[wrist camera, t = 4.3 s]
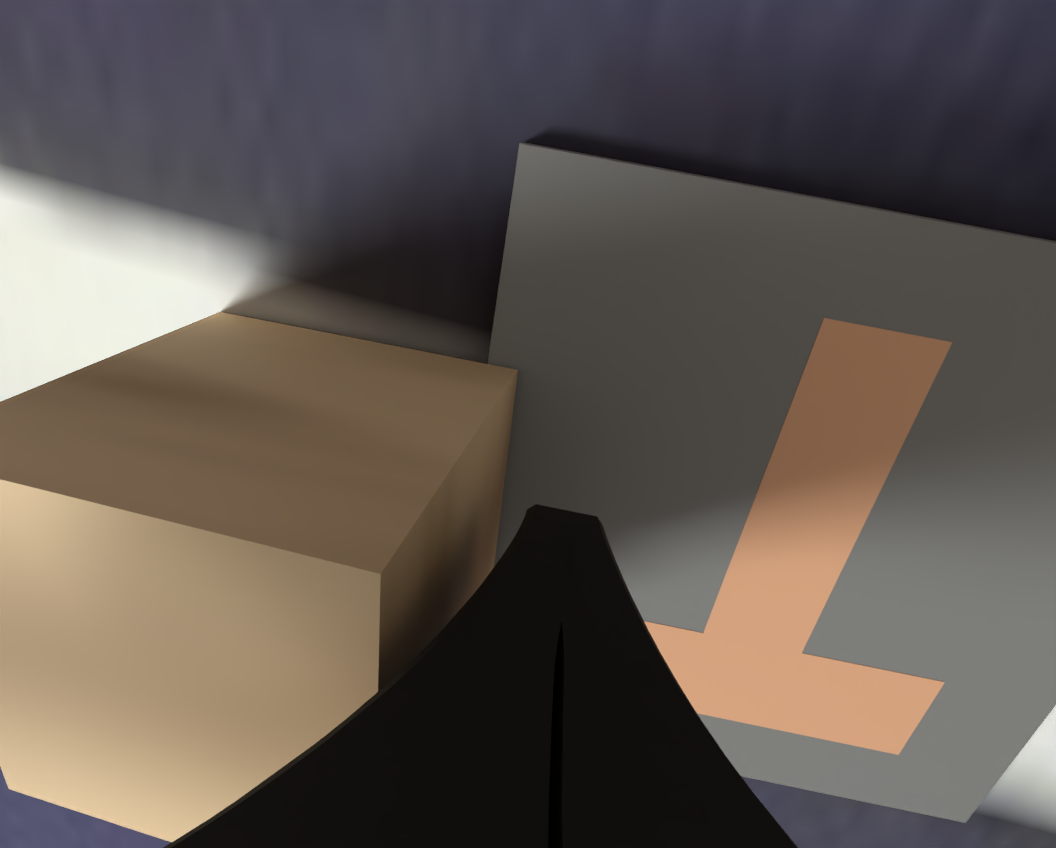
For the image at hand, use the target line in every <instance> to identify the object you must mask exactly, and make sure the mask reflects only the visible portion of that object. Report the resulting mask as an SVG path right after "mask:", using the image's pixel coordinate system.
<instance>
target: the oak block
mask: <svg viewBox="0 0 1056 848" xmlns="http://www.w3.org/2000/svg"><path fill="white" fill-rule="evenodd" d="M517 374H518V370H516V369H511V368H505V367H500V366H495V365H490V364H485V363H480V362H475V361H470V360H464V359H459V358H454V357H449V356H444V355H439V354H434V353H429V352H423V351H418V350H413V349H408V348H403V347H398V346H393V345H388V344H382V343H377V342H372V341H367V340H362V339H357V338H352V337H347V336H341V335H336V334H331V333H326V332H321V331H316V330H311V329H306V328H300V327H295V326H290V325H285V324H280V323H275V322H270V321H265V320H259V319H254V318H249V317H244V316H239V315H234V314H229V313H224V312H219V313H216V314H214V315H211V316H209V317H207V318H204V319H202V320H199V321H197V322H194V323H192V324H189V325H187V326H185V327H182V328H180V329H177V330H175V331H172V332H170V333H168V334H165V335H163V336H160V337H158V338H155V339H153V340H150V341H148V342H146V343H143V344H141V345H138V346H136V347H133V348H131V349H128V350H126V351H124V352H121V353H119V354H116V355H114V356H111V357H109V358H106V359H104V360H102V361H99V362H97V363H94V364H92V365H89V366H87V367H84V368H82V369H80V370H77V371H75V372H72V373H70V374H67V375H65V376H63V377H60V378H58V379H55V380H53V381H50V382H48V383H45V384H43V385H41V386H38V387H36V388H33V389H31V390H28V391H26V392H23V393H21V394H19V395H16V396H14V397H11V398H9V399H6V400H4V401H1V402H0V767H1V769H2V772H3V775H4V777H5V780H6V783H7V785H8V788H9V789H11V790H14V791H17V792H20V793H23V794H26V795H29V796H32V797H35V798H38V799H41V800H44V801H47V802H50V803H53V804H56V805H59V806H63V807H66V808H69V809H72V810H75V811H78V812H81V813H84V814H87V815H90V816H93V817H96V818H99V819H102V820H105V821H108V822H111V823H114V824H117V825H121V826H124V827H127V828H130V829H133V830H136V831H139V832H142V833H145V834H148V835H151V836H154V837H157V838H160V839H163V840H166V841H169V842H173V841H175V840H177V839H178V838H180V837H181V836H183V835H184V834H186V833H188V832H189V831H191V830H192V829H194V828H196V827H197V826H199V825H200V824H202V823H204V822H205V821H207V820H208V819H210V818H211V817H213V816H214V815H216V814H217V813H219V812H220V811H222V810H223V809H225V808H226V807H228V806H229V805H231V804H232V803H234V802H235V801H237V800H238V799H239V798H241V797H242V796H244V795H245V794H246V793H248V792H249V791H250V790H252V789H253V788H255V787H256V786H257V785H259V784H260V783H261V782H263V781H264V780H266V779H267V778H268V777H270V776H271V775H272V774H274V773H275V772H277V771H278V770H279V769H281V768H282V767H284V766H285V765H286V764H288V763H289V762H290V761H292V760H293V759H295V758H296V757H297V756H299V755H300V754H301V753H303V752H304V751H306V750H307V749H308V748H310V747H311V746H312V745H314V744H315V743H316V742H318V741H319V740H320V739H322V738H323V737H324V736H325V735H327V734H328V733H329V732H331V731H332V730H333V729H334V728H335V727H337V726H338V725H339V724H340V723H342V722H343V721H344V720H345V719H347V718H348V717H349V716H350V715H351V714H353V713H354V712H355V711H356V710H357V709H358V708H360V707H361V706H362V705H363V704H364V703H365V702H367V701H368V700H369V699H370V698H371V697H372V696H374V695H375V694H376V693H377V692H378V691H379V690H380V689H382V688H383V687H384V686H385V685H386V684H387V683H389V682H390V681H391V680H392V679H393V678H394V677H395V676H396V675H397V674H398V673H399V672H400V671H401V670H403V669H404V668H405V667H406V666H407V665H408V664H409V663H410V662H411V661H412V660H413V659H414V658H415V657H416V656H417V655H418V654H419V653H420V652H421V651H422V650H423V649H424V648H425V647H426V646H427V645H428V644H429V643H430V642H431V641H432V640H433V639H434V638H435V637H436V636H437V635H438V634H439V633H440V632H441V631H442V630H443V628H444V627H445V626H446V625H447V624H448V623H449V622H450V620H451V619H452V618H453V617H454V616H455V615H456V614H457V612H458V611H459V610H460V609H461V608H462V607H463V606H464V604H465V603H466V602H467V601H468V600H469V599H470V598H471V596H472V595H473V594H474V593H475V592H476V590H477V589H478V588H479V587H480V585H481V584H482V583H483V581H484V580H485V579H486V577H487V576H488V575H489V573H490V572H491V571H492V569H493V568H494V564H495V556H496V547H497V539H498V531H499V523H500V514H501V506H502V498H503V489H504V481H505V473H506V465H507V456H508V448H509V440H510V432H511V423H512V415H513V407H514V399H515V390H516V382H517Z"/></svg>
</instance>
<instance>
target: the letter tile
mask: <svg viewBox="0 0 1056 848" xmlns="http://www.w3.org/2000/svg"><path fill="white" fill-rule="evenodd" d="M487 364H490V365H495V366H500V367H505V368H511V369H516V370H518V374H517V382H516V390H515V399H514V407H513V415H512V423H511V432H510V440H509V448H508V456H507V465H506V473H505V481H504V489H503V498H502V506H501V514H500V523H499V531H498V539H497V547H496V556H495V564H494V566H495V565H496V564H497V562H498V561H499V560H500V558H501V557H502V556H503V554H504V553H505V551H506V549H507V548H508V546H509V545H510V543H511V542H512V540H513V538H514V537H515V535H516V533H517V531H518V530H519V528H520V526H521V524H522V521H523V519H524V517H525V514H526V511H527V509H528V508H530V507H532V506H534V505H535V504H538V505H543V506H548V507H553V508H558V509H563V510H568V511H573V512H578V513H583V514H588V515H592V516H597V517H598V518H599V520H600V521H601V523H602V524H603V527H604V530H605V533H606V536H607V539H608V542H609V545H610V547H611V550H612V552H613V555H614V557H615V560H616V562H617V565H618V567H619V569H620V572H621V574H622V576H623V579H624V581H625V583H626V585H627V587H628V590H629V592H630V594H631V596H632V598H633V600H634V602H635V604H636V606H637V608H638V610H639V612H640V614H641V616H642V618H643V620H644V622H645V624H646V626H647V628H648V630H649V632H650V634H651V636H652V638H653V640H654V642H655V643H656V645H657V647H658V649H659V651H660V653H661V654H662V656H663V658H664V660H665V661H666V663H667V665H668V666H669V668H670V670H671V672H672V673H673V675H674V677H675V679H676V680H677V682H678V684H679V685H680V687H681V689H682V690H683V692H684V693H685V695H686V697H687V698H688V700H689V702H690V703H691V705H692V706H693V708H694V709H695V711H696V713H697V714H698V716H699V717H700V719H701V720H702V722H703V723H704V725H705V726H706V728H707V729H708V731H709V732H710V733H711V735H712V736H713V738H714V739H715V741H716V742H717V744H718V745H719V747H720V748H721V749H722V751H723V752H724V754H725V755H726V757H727V758H728V759H729V761H730V762H731V763H732V765H733V766H734V768H735V769H736V770H737V772H738V773H739V774H740V776H743V777H748V778H753V779H758V780H762V781H767V782H772V783H777V784H782V785H786V786H791V787H796V788H801V789H806V790H810V791H815V792H820V793H825V794H830V795H834V796H839V797H844V798H849V799H854V800H858V801H863V802H868V803H873V804H877V805H882V806H887V807H892V808H897V809H901V810H906V811H911V812H916V813H921V814H925V815H930V816H935V817H940V818H945V819H949V820H954V821H959V822H964V823H966V821H967V820H968V819H969V818H970V816H971V815H972V814H973V812H974V811H975V810H976V808H977V807H978V806H979V804H980V803H981V802H982V801H983V799H984V798H985V797H986V795H987V794H988V793H989V791H990V790H991V789H992V787H993V786H994V785H995V784H996V782H997V781H998V780H999V778H1000V777H1001V776H1002V774H1003V773H1004V772H1005V770H1006V769H1007V768H1008V766H1009V765H1010V764H1011V763H1012V761H1013V760H1014V759H1015V757H1016V756H1017V755H1018V753H1019V752H1020V751H1021V749H1022V748H1023V747H1024V746H1025V744H1026V743H1027V742H1028V740H1029V739H1030V738H1031V736H1032V735H1033V734H1034V732H1035V731H1036V730H1037V729H1038V727H1039V726H1040V725H1041V723H1042V722H1043V721H1044V719H1045V718H1046V717H1047V715H1048V714H1049V713H1050V712H1051V710H1052V709H1053V708H1054V706H1055V705H1056V241H1053V240H1047V239H1042V238H1036V237H1031V236H1026V235H1020V234H1015V233H1010V232H1004V231H999V230H993V229H988V228H983V227H977V226H972V225H966V224H961V223H956V222H950V221H945V220H940V219H934V218H929V217H923V216H918V215H913V214H907V213H902V212H897V211H891V210H886V209H880V208H875V207H870V206H864V205H859V204H853V203H848V202H843V201H837V200H832V199H827V198H821V197H816V196H810V195H805V194H800V193H794V192H789V191H784V190H778V189H773V188H767V187H762V186H757V185H751V184H746V183H740V182H735V181H730V180H724V179H719V178H714V177H708V176H703V175H697V174H692V173H687V172H681V171H676V170H671V169H665V168H660V167H654V166H649V165H644V164H638V163H633V162H627V161H622V160H617V159H611V158H606V157H601V156H595V155H590V154H584V153H579V152H574V151H568V150H563V149H558V148H552V147H547V146H541V145H536V144H531V143H525V142H522V143H519V150H518V157H517V164H516V171H515V178H514V185H513V191H512V198H511V205H510V212H509V219H508V226H507V233H506V239H505V246H504V253H503V260H502V267H501V274H500V281H499V288H498V294H497V301H496V308H495V315H494V322H493V329H492V336H491V343H490V349H489V356H488V363H487Z"/></svg>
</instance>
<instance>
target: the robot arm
mask: <svg viewBox="0 0 1056 848" xmlns="http://www.w3.org/2000/svg"><path fill="white" fill-rule="evenodd" d="M164 848H798V847H797V846H796V845H795V844H794V842H793V841H792V840H791V839H790V837H789V836H788V835H787V834H786V833H785V831H784V830H783V829H782V828H781V826H780V825H779V824H778V823H777V821H776V820H775V819H774V818H773V817H772V815H771V814H770V813H769V812H768V810H767V809H766V808H765V807H764V805H763V804H762V803H761V802H760V801H759V799H758V798H757V797H756V796H755V794H754V793H753V792H752V791H751V789H750V788H749V787H748V785H747V784H746V783H745V781H744V780H743V778H742V777H741V776H740V774H739V773H738V772H737V770H736V769H735V768H734V766H733V765H732V763H731V762H730V761H729V759H728V758H727V757H726V755H725V754H724V752H723V751H722V749H721V748H720V747H719V745H718V744H717V742H716V741H715V739H714V738H713V736H712V735H711V733H710V732H709V731H708V729H707V728H706V726H705V725H704V723H703V722H702V720H701V719H700V717H699V716H698V714H697V713H696V711H695V709H694V708H693V706H692V705H691V703H690V702H689V700H688V698H687V697H686V695H685V693H684V692H683V690H682V689H681V687H680V685H679V684H678V682H677V680H676V679H675V677H674V675H673V673H672V672H671V670H670V668H669V666H668V665H667V663H666V661H665V660H664V658H663V656H662V654H661V653H660V651H659V649H658V647H657V645H656V643H655V642H654V640H653V638H652V636H651V634H650V632H649V630H648V628H647V626H646V624H645V622H644V620H643V618H642V616H641V614H640V612H639V610H638V608H637V606H636V604H635V602H634V600H633V598H632V596H631V594H630V592H629V590H628V587H627V585H626V583H625V581H624V579H623V576H622V574H621V572H620V569H619V567H618V565H617V562H616V560H615V557H614V555H613V552H612V550H611V547H610V545H609V542H608V539H607V536H606V533H605V530H604V527H603V524H602V523H601V521H600V520H599V518H598V517H597V516H592V515H588V514H583V513H578V512H573V511H568V510H563V509H558V508H553V507H548V506H543V505H538V504H535V505H534V506H532V507H530V508H528V509H527V511H526V514H525V517H524V519H523V521H522V524H521V526H520V528H519V530H518V531H517V533H516V535H515V537H514V538H513V540H512V542H511V543H510V545H509V546H508V548H507V549H506V551H505V553H504V554H503V556H502V557H501V558H500V560H499V561H498V562H497V564H496V565H495V566H494V568H493V569H492V571H491V572H490V573H489V575H488V576H487V577H486V579H485V580H484V581H483V583H482V584H481V585H480V587H479V588H478V589H477V590H476V592H475V593H474V594H473V595H472V596H471V598H470V599H469V600H468V601H467V602H466V603H465V604H464V606H463V607H462V608H461V609H460V610H459V611H458V612H457V614H456V615H455V616H454V617H453V618H452V619H451V620H450V622H449V623H448V624H447V625H446V626H445V627H444V628H443V630H442V631H441V632H440V633H439V634H438V635H437V636H436V637H435V638H434V639H433V640H432V641H431V642H430V643H429V644H428V645H427V646H426V647H425V648H424V649H423V650H422V651H421V652H420V653H419V654H418V655H417V656H416V657H415V658H414V659H413V660H412V661H411V662H410V663H409V664H408V665H407V666H406V667H405V668H404V669H403V670H401V671H400V672H399V673H398V674H397V675H396V676H395V677H394V678H393V679H392V680H391V681H390V682H389V683H387V684H386V685H385V686H384V687H383V688H382V689H380V690H379V691H378V692H377V693H376V694H375V695H374V696H372V697H371V698H370V699H369V700H368V701H367V702H365V703H364V704H363V705H362V706H361V707H360V708H358V709H357V710H356V711H355V712H354V713H353V714H351V715H350V716H349V717H348V718H347V719H345V720H344V721H343V722H342V723H340V724H339V725H338V726H337V727H335V728H334V729H333V730H332V731H331V732H329V733H328V734H327V735H325V736H324V737H323V738H322V739H320V740H319V741H318V742H316V743H315V744H314V745H312V746H311V747H310V748H308V749H307V750H306V751H304V752H303V753H301V754H300V755H299V756H297V757H296V758H295V759H293V760H292V761H290V762H289V763H288V764H286V765H285V766H284V767H282V768H281V769H279V770H278V771H277V772H275V773H274V774H272V775H271V776H270V777H268V778H267V779H266V780H264V781H263V782H261V783H260V784H259V785H257V786H256V787H255V788H253V789H252V790H250V791H249V792H248V793H246V794H245V795H244V796H242V797H241V798H239V799H238V800H237V801H235V802H234V803H232V804H231V805H229V806H228V807H226V808H225V809H223V810H222V811H220V812H219V813H217V814H216V815H214V816H213V817H211V818H210V819H208V820H207V821H205V822H204V823H202V824H200V825H199V826H197V827H196V828H194V829H192V830H191V831H189V832H188V833H186V834H184V835H183V836H181V837H180V838H178V839H177V840H175V841H173V842H172V843H170V844H169V845H167V846H165V847H164Z"/></svg>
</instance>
